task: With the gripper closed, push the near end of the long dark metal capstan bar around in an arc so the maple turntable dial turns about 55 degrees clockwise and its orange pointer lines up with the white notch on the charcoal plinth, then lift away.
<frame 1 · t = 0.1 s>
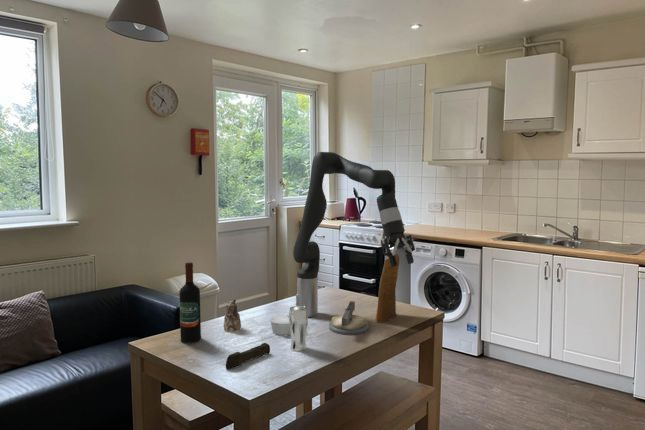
hand: (403, 265, 173), 31 cm above the table, tool tilted 20°, fingers open, 8 cm apart
pancake mix bag: (387, 318, 213), on the table
wine bottle: (190, 340, 186), on the table
figurine: (232, 329, 199), on the table
dial plinth: (348, 328, 200), on the table
capstan dial: (348, 316, 199), point 5 cm above the table, hinge at 0.0°
beer glass: (298, 348, 177), on the table
ramekin: (284, 332, 196), on the table
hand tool: (248, 362, 165), on the table
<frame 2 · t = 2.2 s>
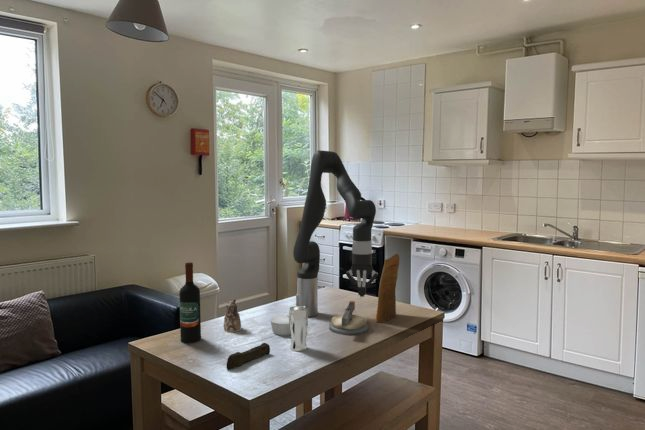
hand: (361, 296, 187), 17 cm above the table, tool pointing down, fingers closed
nothing on the table moved.
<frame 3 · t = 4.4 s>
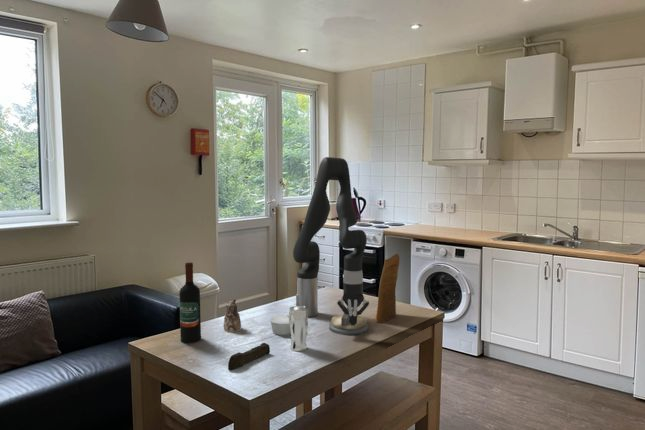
hand: (353, 324, 189), 5 cm above the table, tool pointing down, fingers closed
capstan dial: (348, 316, 199), point 5 cm above the table, hinge at -0.6°, touching gripper
everything else where it was.
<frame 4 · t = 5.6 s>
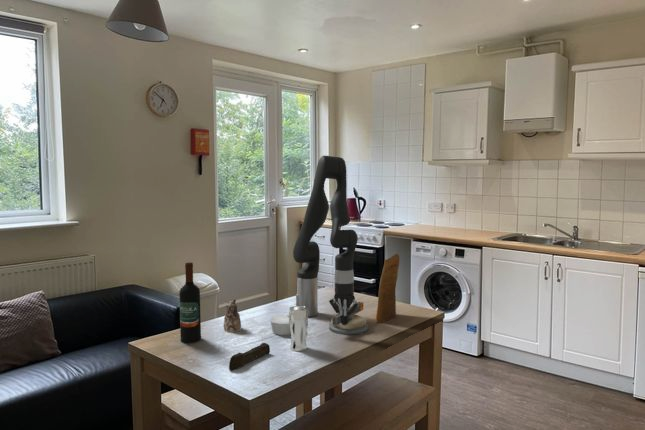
hand: (344, 324, 189), 5 cm above the table, tool pointing down, fingers closed
capstan dial: (348, 316, 199), point 5 cm above the table, hinge at -18.1°, touching gripper
everything else where it was.
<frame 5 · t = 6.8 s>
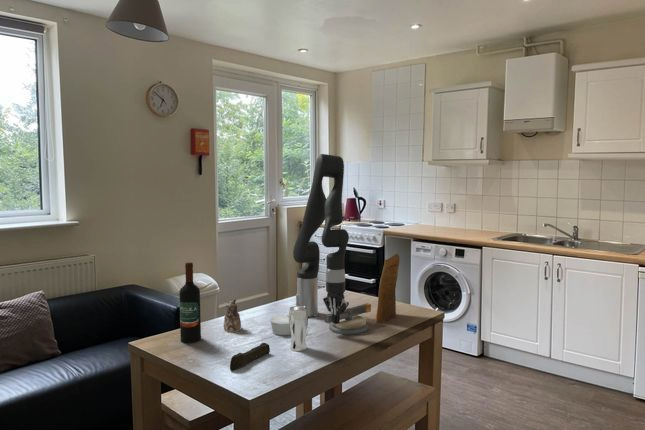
hand: (335, 323, 190), 5 cm above the table, tool pointing down, fingers closed
capstan dial: (348, 316, 199), point 5 cm above the table, hinge at -36.9°, touching gripper
everything else where it was.
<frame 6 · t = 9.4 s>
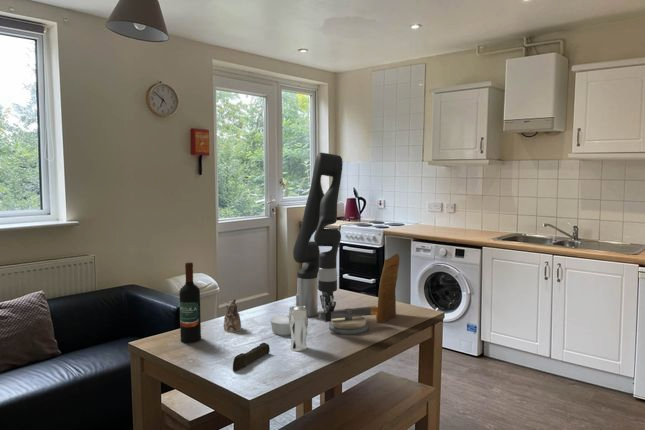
hand: (327, 321, 193), 5 cm above the table, tool pointing down, fingers closed
capstan dial: (348, 316, 199), point 5 cm above the table, hinge at -61.2°
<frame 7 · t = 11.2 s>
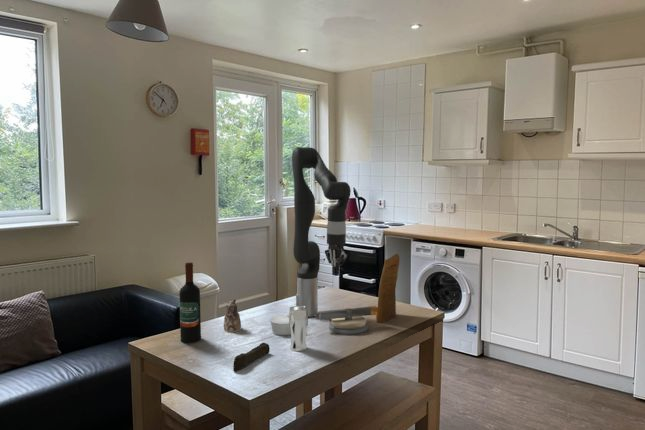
hand: (335, 275, 193), 23 cm above the table, tool pointing down, fingers closed
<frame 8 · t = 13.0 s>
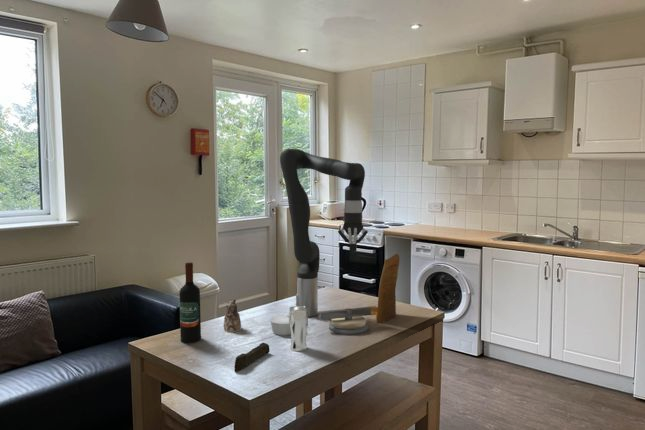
hand: (352, 252, 202), 31 cm above the table, tool pointing down, fingers closed
at the end: capstan dial at -61° (first picture: +0°); pancake mix bag moved 0.2 cm from its start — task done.
